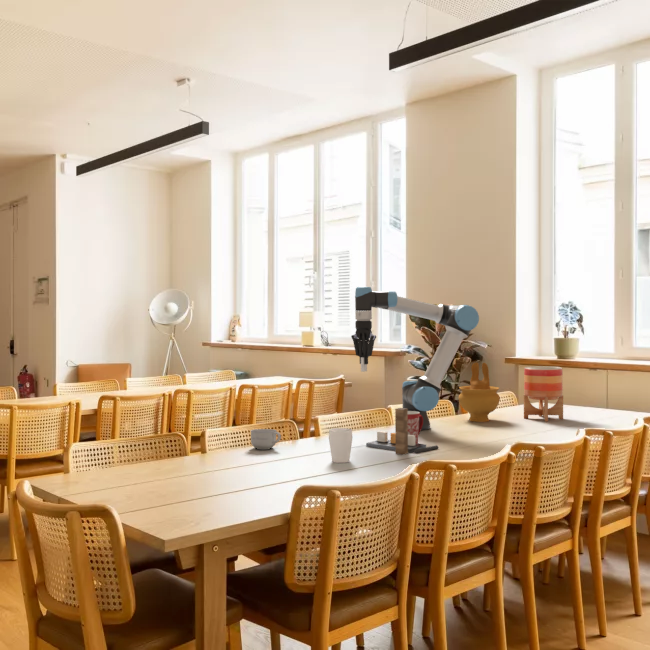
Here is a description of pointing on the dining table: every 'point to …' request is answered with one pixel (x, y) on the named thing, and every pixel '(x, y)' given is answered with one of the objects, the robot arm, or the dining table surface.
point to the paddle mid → (393, 438)
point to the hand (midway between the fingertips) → (363, 371)
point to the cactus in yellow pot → (479, 395)
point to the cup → (340, 444)
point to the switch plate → (392, 445)
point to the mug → (414, 424)
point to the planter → (543, 390)
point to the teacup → (264, 438)
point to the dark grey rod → (426, 449)
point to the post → (401, 430)
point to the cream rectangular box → (411, 440)
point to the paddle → (382, 436)
